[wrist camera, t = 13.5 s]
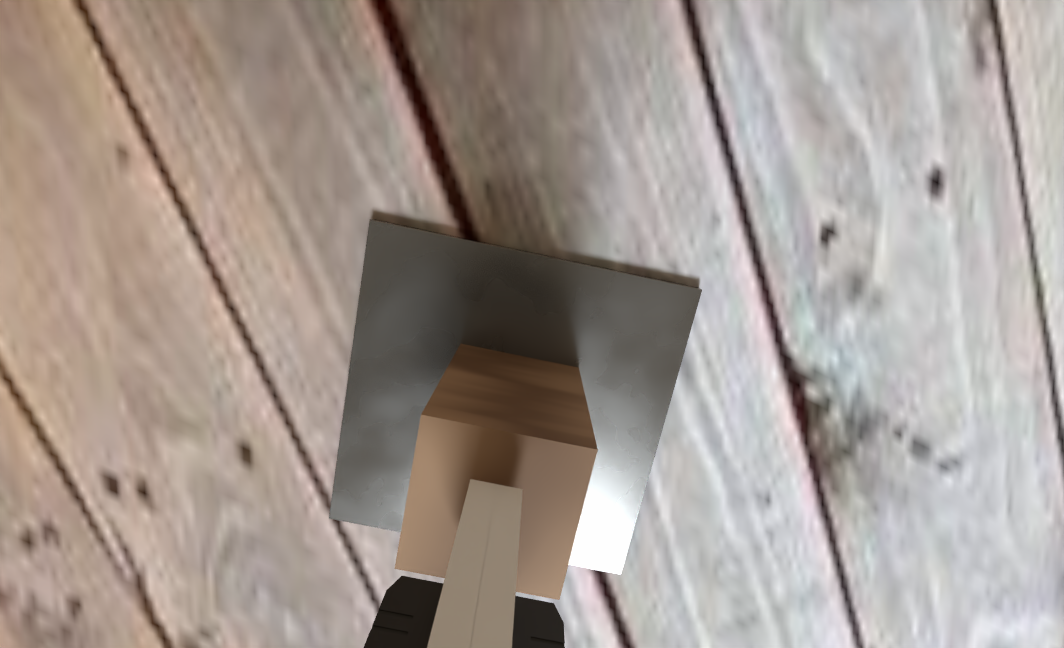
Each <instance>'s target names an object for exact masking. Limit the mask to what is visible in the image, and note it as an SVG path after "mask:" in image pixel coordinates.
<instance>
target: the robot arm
mask: <svg viewBox="0 0 1064 648" xmlns="http://www.w3.org/2000/svg"><path fill="white" fill-rule="evenodd" d="M522 490H523V489H519V488H514V487H509V486H503V485H498V484H493V483H488V482H483V481H478V480H473V479H470V483H469V487H468V491H467V494H466V498H465V502H464V506H463V510H462V514H461V518H460V522H459V526H458V529H457V533H456V537H455V541H454V545H453V549H452V553H451V557H450V560H449V564H448V568H447V572H446V576H445V580H444V584H442V583H437V582H432V581H426V580H421V579H416V578H411V577H406V576H401V577H400V578H399V579H398V580H397V581H396V582H395V583H394V584H393V585H392V586H391V587H390V588H389V589H387V591H386V593H385V596H384V598H383V601H382V603H381V606H380V608H379V612H378V613H377V616H376V618H375V621H374V623H373V626H372V629H371V631H370V633H369V636H368V638H367V641H366V643H365V646H364V648H565V647H564V643H565V642H564V623H563V621H562V619H561V617H560V615H559V613H558V611H557V609H556V607H555V605H554V603H549V602H544V601H539V600H533V599H528V598H523V597H518V596H515V593H516V579H517V564H518V549H519V534H520V520H521V505H522Z"/></svg>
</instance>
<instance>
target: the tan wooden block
mask: <svg viewBox="0 0 1064 648" xmlns="http://www.w3.org/2000/svg"><path fill="white" fill-rule="evenodd" d="M597 450H598V449H597V444H596V440H595V436H594V431H593V427H592V423H591V418H590V414H589V410H588V405H587V401H586V396H585V392H584V388H583V383H582V379H581V375H580V370H579V368H578V367H573V366H568V365H564V364H559V363H554V362H549V361H544V360H539V359H534V358H529V357H524V356H519V355H514V354H509V353H505V352H500V351H495V350H490V349H485V348H480V347H475V346H470V345H465V344H460V346H459V347H458V349H457V351H456V353H455V355H454V356H453V358H452V360H451V362H450V364H449V365H448V367H447V369H446V371H445V373H444V374H443V376H442V378H441V380H440V381H439V383H438V385H437V387H436V389H435V390H434V392H433V394H432V396H431V398H430V399H429V401H428V403H427V405H426V407H425V408H424V410H423V412H422V414H421V418H420V423H419V429H418V435H417V441H416V447H415V453H414V459H413V464H412V470H411V476H410V482H409V488H408V494H407V500H406V505H405V511H404V517H403V523H402V529H401V535H400V541H399V547H398V552H397V558H396V564H395V569H399V570H404V571H410V572H415V573H420V574H426V575H431V576H436V577H441V578H445V576H446V572H447V568H448V564H449V560H450V557H451V553H452V549H453V545H454V541H455V537H456V533H457V529H458V526H459V522H460V518H461V514H462V510H463V506H464V502H465V498H466V494H467V491H468V487H469V483H470V479H473V480H478V481H483V482H488V483H493V484H498V485H503V486H509V487H514V488H519V489H523V490H522V505H521V520H520V534H519V549H518V564H517V579H516V592H521V593H526V594H531V595H536V596H542V597H547V598H552V599H558V600H559V599H560V595H561V591H562V587H563V583H564V579H565V576H566V572H567V568H568V564H569V560H570V556H571V552H572V548H573V544H574V540H575V536H576V533H577V529H578V525H579V521H580V517H581V513H582V509H583V505H584V501H585V497H586V493H587V490H588V486H589V482H590V478H591V474H592V470H593V466H594V462H595V458H596V454H597Z"/></svg>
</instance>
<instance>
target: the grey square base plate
mask: <svg viewBox="0 0 1064 648" xmlns="http://www.w3.org/2000/svg"><path fill="white" fill-rule="evenodd" d="M701 292H702V289H700V288H696V287H691V286H687V285H682V284H677V283H672V282H668V281H663V280H658V279H653V278H649V277H644V276H639V275H634V274H630V273H625V272H620V271H615V270H611V269H606V268H601V267H596V266H592V265H587V264H582V263H577V262H573V261H568V260H563V259H558V258H554V257H549V256H544V255H540V254H535V253H530V252H525V251H521V250H516V249H511V248H506V247H502V246H497V245H492V244H487V243H483V242H478V241H473V240H468V239H464V238H459V237H454V236H449V235H445V234H440V233H435V232H430V231H426V230H421V229H416V228H412V227H407V226H402V225H397V224H393V223H388V222H383V221H378V220H374V219H372V220H370V223H369V230H368V237H367V244H366V252H365V259H364V266H363V274H362V281H361V288H360V296H359V303H358V310H357V318H356V325H355V332H354V340H353V347H352V354H351V362H350V369H349V376H348V384H347V391H346V398H345V406H344V413H343V420H342V428H341V435H340V442H339V450H338V457H337V464H336V472H335V479H334V486H333V494H332V501H331V508H330V515H329V519H335V520H340V521H345V522H350V523H355V524H360V525H366V526H371V527H376V528H381V529H386V530H392V531H397V532H401V529H402V523H403V517H404V511H405V505H406V500H407V494H408V488H409V482H410V476H411V470H412V464H413V459H414V453H415V447H416V441H417V435H418V429H419V423H420V418H421V414H422V412H423V410H424V408H425V407H426V405H427V403H428V401H429V399H430V398H431V396H432V394H433V392H434V390H435V389H436V387H437V385H438V383H439V381H440V380H441V378H442V376H443V374H444V373H445V371H446V369H447V367H448V365H449V364H450V362H451V360H452V358H453V356H454V355H455V353H456V351H457V349H458V347H459V346H460V344H465V345H470V346H475V347H480V348H485V349H490V350H495V351H500V352H505V353H509V354H514V355H519V356H524V357H529V358H534V359H539V360H544V361H549V362H554V363H559V364H564V365H568V366H573V367H578V368H579V370H580V375H581V379H582V383H583V388H584V392H585V396H586V401H587V405H588V410H589V414H590V418H591V423H592V427H593V431H594V436H595V440H596V444H597V449H598V450H597V454H596V458H595V462H594V466H593V470H592V474H591V478H590V482H589V486H588V490H587V493H586V497H585V501H584V505H583V509H582V513H581V517H580V521H579V525H578V529H577V533H576V536H575V540H574V544H573V548H572V552H571V556H570V560H569V564H568V565H573V566H578V567H584V568H589V569H594V570H599V571H604V572H609V573H615V574H620V575H621V573H622V569H623V566H624V562H625V559H626V555H627V552H628V548H629V545H630V541H631V538H632V534H633V531H634V527H635V524H636V520H637V516H638V513H639V509H640V506H641V502H642V499H643V495H644V492H645V488H646V485H647V481H648V478H649V474H650V471H651V467H652V464H653V460H654V457H655V453H656V450H657V446H658V443H659V439H660V436H661V432H662V429H663V425H664V422H665V418H666V415H667V411H668V408H669V404H670V401H671V397H672V394H673V390H674V387H675V383H676V380H677V376H678V372H679V369H680V365H681V362H682V358H683V355H684V351H685V348H686V344H687V341H688V337H689V334H690V330H691V327H692V323H693V320H694V316H695V313H696V309H697V306H698V302H699V299H700V295H701Z"/></svg>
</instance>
